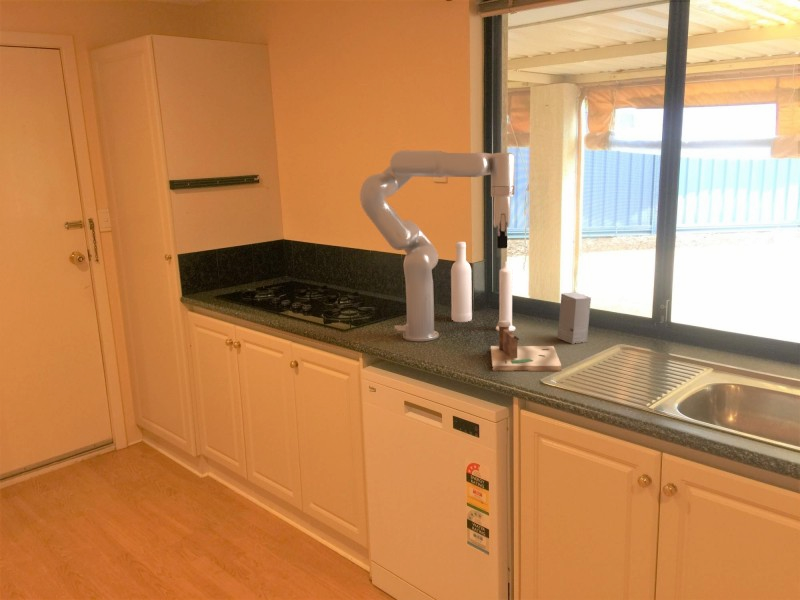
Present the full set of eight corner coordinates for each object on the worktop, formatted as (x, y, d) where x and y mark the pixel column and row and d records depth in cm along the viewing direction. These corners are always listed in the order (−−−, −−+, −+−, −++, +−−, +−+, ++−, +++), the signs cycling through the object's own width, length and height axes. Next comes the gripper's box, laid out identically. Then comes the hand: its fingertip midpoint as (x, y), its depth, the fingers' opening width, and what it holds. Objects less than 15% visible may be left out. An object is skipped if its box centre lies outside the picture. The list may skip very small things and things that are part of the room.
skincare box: (557, 338, 230) (558, 293, 227) (574, 335, 233) (575, 291, 230) (572, 344, 223) (573, 298, 219) (590, 341, 225) (591, 295, 222)
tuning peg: (496, 347, 216) (496, 321, 214) (508, 346, 217) (508, 320, 215) (511, 362, 201) (511, 334, 199) (524, 361, 201) (524, 333, 199)
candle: (515, 332, 240) (515, 262, 234) (495, 331, 241) (495, 262, 236) (515, 327, 246) (516, 259, 241) (496, 326, 248) (496, 259, 242)
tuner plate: (492, 370, 200) (492, 364, 199) (490, 350, 219) (490, 345, 219) (561, 370, 198) (561, 365, 197) (553, 350, 217) (553, 345, 217)
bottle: (476, 320, 258) (476, 242, 251) (460, 323, 254) (459, 244, 247) (463, 316, 264) (462, 240, 258) (447, 319, 260) (446, 242, 254)
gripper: (490, 190, 226) (490, 244, 230) (491, 193, 211) (491, 251, 215) (513, 190, 225) (512, 244, 229) (515, 193, 211) (515, 251, 215)
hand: (502, 247), depth 222 cm, fingers closed
